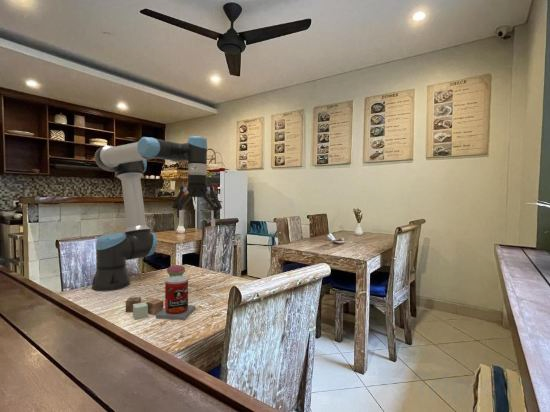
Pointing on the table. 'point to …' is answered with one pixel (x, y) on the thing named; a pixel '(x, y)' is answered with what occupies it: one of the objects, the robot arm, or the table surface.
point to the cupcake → (175, 270)
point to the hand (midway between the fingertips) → (197, 226)
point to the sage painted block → (140, 310)
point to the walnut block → (132, 301)
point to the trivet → (180, 316)
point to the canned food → (176, 294)
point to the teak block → (154, 306)
